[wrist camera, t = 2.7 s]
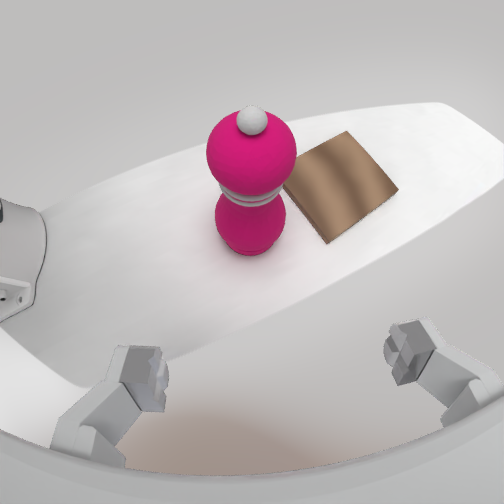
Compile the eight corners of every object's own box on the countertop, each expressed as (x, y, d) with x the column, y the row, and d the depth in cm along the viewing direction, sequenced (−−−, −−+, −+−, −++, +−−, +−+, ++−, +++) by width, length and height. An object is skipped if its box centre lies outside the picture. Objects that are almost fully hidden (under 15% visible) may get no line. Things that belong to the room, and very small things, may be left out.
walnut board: (326, 244, 33) (329, 241, 32) (272, 175, 36) (273, 170, 35) (395, 193, 35) (398, 189, 34) (344, 135, 38) (346, 130, 37)
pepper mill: (241, 191, 35) (236, 59, 16) (292, 222, 34) (337, 103, 15) (206, 238, 33) (160, 127, 14) (259, 272, 32) (274, 188, 13)
